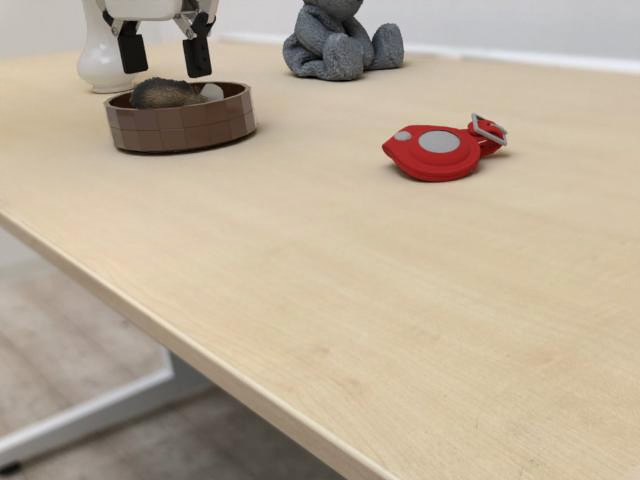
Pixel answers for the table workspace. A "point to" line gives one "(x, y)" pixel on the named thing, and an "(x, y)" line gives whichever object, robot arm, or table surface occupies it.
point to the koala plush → (339, 42)
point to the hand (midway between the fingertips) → (168, 74)
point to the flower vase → (102, 55)
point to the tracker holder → (444, 148)
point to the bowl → (182, 121)
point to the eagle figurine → (172, 94)
